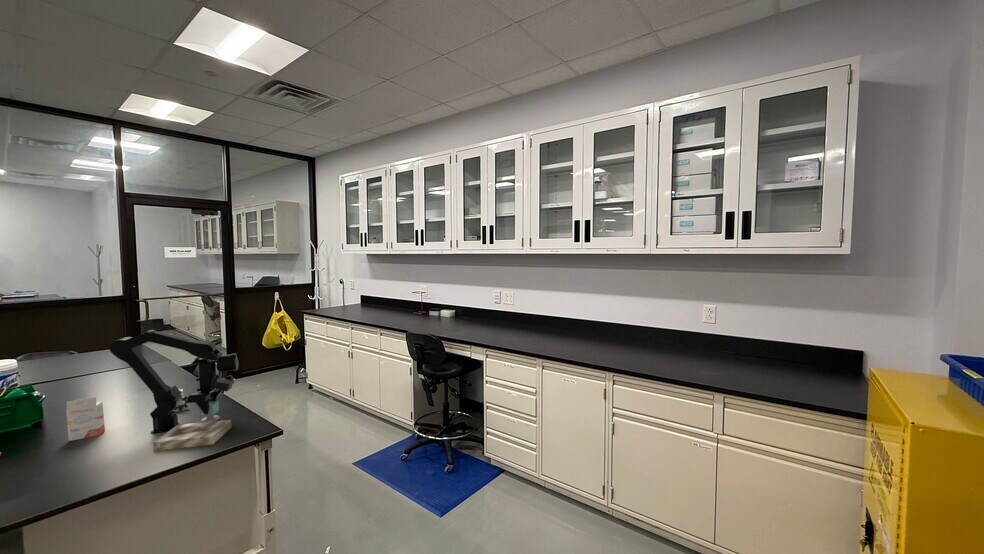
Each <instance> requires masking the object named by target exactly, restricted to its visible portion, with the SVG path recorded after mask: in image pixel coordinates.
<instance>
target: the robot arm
mask: <svg viewBox="0 0 984 554" xmlns="http://www.w3.org/2000/svg"><path fill="white" fill-rule="evenodd" d="M147 343H153V344H158V345H162V346H166V347H170V348H175V349H178V350H182V351H185V352H187V353H189V355H192V356H194V357H195V358H194V360H193V361H191V363H190V364H191V366H192V365H197V368H198V369H197V372H198V373H197V375H198V377H197V378H195V379H196V380H195V382H198V386H199V387H197V388H196V391H195V392H192V393H191V394H189V395H188V396H187V399H186V400H187V404H193V403H195V404H196V405H197V407H198V408H199V410H200V409H201V410H202V411H203V413H204V414H208V412H209V402H210V401H218V397H219V396H220V394H221V393H222V392H228V391H230V389H233V388H232V387H233V385H234V384H235V380H234V379H235V378H234V376H233V375H230V374H229V375H227V376H226V377H220V374H219V373H217V371H219V372H220V373H224V372H231V371H232V372H233V371H238V370H239V359H238V355H237V353H236V352H235V353H231V354H223V353H222V352H221V351H220V350H219V349H217V345H216V344H215V342H213V341H210V340H198V339H197V340H196V339H188V338H185V337H182V336H181V337H180V336H178V335H173V334H169V333H167V332H166V333H165V332H161V331H158V330H156V329H150V330H147V331H145V332H143V333H141V334H138V335H136V336H133V337H131V336H126V337H123V338H120V339H116V340H115V341H113V342H112V343H111V344H110V346H109V352H110V353H111V354H112V355H113V356H114V357H116V358H117V359H119V360H120V361H122V362H124V363H127V364H128V365H129V367H131V369H132V370H133V371H134V373H135V374H136V375H137V376H138V377H139V378H140V379H141V381H142V382H143V383H144V384H145V386H146V387H147V388H148V389H149V390H150V392H151V393H152V395H153V399H154V403H155V405H156V407H155V408H154V409H152V411H151V412H150V413H149V414H150V416H151V419H152V428H153V429H152V430H151V431H150V434H157V433H167V432H168V431H170V430H171V429H173V428H174V427H175V426H177V425H180V423H179V417H178V414H177V411H176V410H174V409H175V408H176V406H177V405H178V404H179V403H180V402H181V400H182V395H181V393H182V392H180V391H179V388H178V387H177V386H176V385H175V384H174V385H173V386H169V385H167V384H166V383H165V381H164V380H163V379H162V377H161V376H160V375H159V374H158V373H157V372H156V371H155V369H154V368H153V367H152V366H151V364H150V363H149V362H148V361H147V360H146V358H145V357H144V356H143V353H142V348H141V345H144V344H147ZM177 407H178V406H177Z"/></svg>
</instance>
